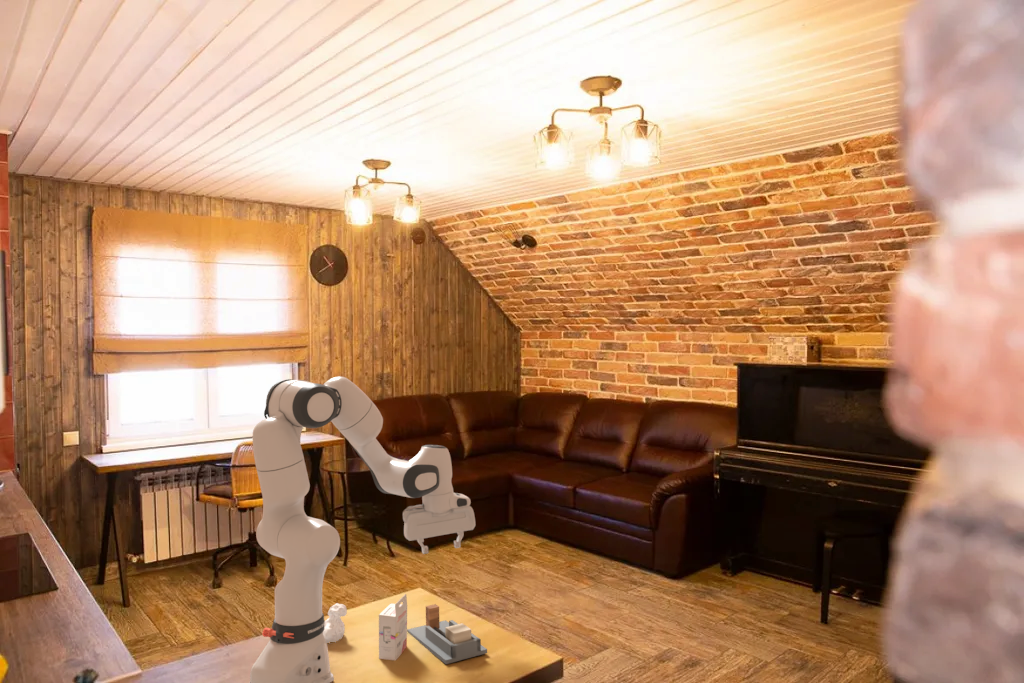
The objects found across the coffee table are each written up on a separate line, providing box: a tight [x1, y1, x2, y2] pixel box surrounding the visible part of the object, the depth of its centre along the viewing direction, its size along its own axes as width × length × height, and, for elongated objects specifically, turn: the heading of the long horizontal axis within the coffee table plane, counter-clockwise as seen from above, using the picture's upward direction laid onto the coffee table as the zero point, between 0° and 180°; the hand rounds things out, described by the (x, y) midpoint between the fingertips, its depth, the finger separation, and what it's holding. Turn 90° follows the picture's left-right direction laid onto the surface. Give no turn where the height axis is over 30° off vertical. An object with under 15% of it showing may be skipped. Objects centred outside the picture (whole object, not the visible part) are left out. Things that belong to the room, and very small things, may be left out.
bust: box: [323, 602, 348, 644], centre depth 203 cm, size 12×8×11 cm
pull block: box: [425, 603, 472, 644], centre depth 200 cm, size 19×5×6 cm, turn 32°
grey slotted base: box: [407, 619, 488, 665], centre depth 200 cm, size 24×12×4 cm, turn 32°
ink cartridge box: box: [378, 594, 408, 661], centre depth 193 cm, size 9×5×15 cm, turn 168°
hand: (441, 550), depth 209 cm, fingers open, 8 cm apart
